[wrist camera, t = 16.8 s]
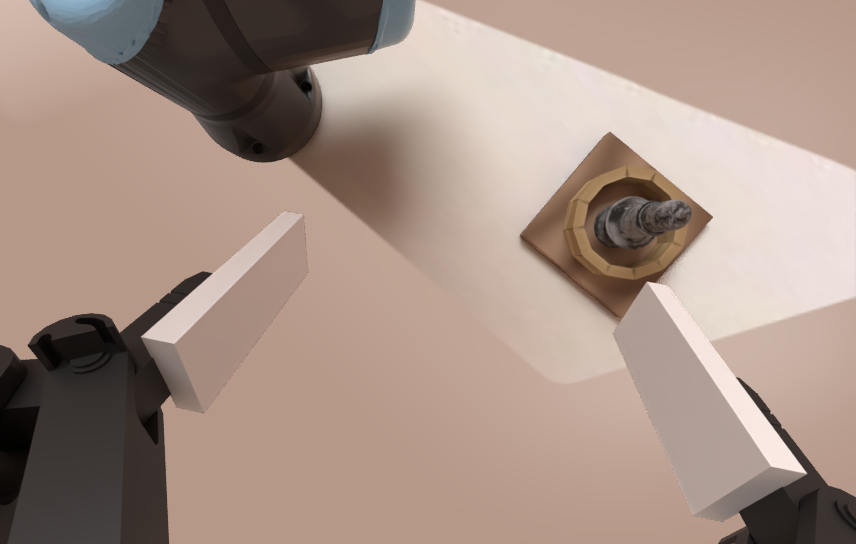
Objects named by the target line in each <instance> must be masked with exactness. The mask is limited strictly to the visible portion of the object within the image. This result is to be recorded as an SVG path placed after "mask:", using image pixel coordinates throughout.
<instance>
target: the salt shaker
mask: <svg viewBox="0 0 856 544" xmlns="http://www.w3.org/2000/svg"><path fill="white" fill-rule="evenodd" d="M691 216H692V211H691V208H690V207H689V205H688V204H687V203H686V202H684V201H682V200H669V201H665V202H661V201H650V202H649V201H648V200H646V199H644V198H641V197H637V196H630V197H626V198H622V199H621V200H619V201H617V202H616V203H615V204H614V205H610V206H607V207H605V208H604V209H602V210H601V211H600V212H599V213H598V215H597V217H596V219H595V222H594V231H595V235H596V237H597V238H598V240H599V241H600V242H601V243H602V244H604V245H605V246H607V247H611V248H624V249H628V250H636V249H640V248H643V247H645V246H647V245H648V244H650V243H651V242H652V241H653V240H654V238H655V237H657V236H661V235H663V234H665V233H666V232H667V231H673V230H678V229H681V228H683V227H685V226H686V225H687V224H688V223H689V221H690V220H691Z"/></svg>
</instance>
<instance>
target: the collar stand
mask: <svg viewBox="0 0 856 544" xmlns="http://www.w3.org/2000/svg"><path fill="white" fill-rule="evenodd" d="M630 196H637V197H641V198H644V199H646V200H648V201H649V202H650V201H661V202H665V201H669V200H682V201H684V202H686V203H687V204H688V205H689V207H690V208H691V211H692V216H691V220H690V221H689V223H688V224H687V225H686V226H685V227H683V228H681V229H678V230H673V231H667V232H666V233H665V234H663V235H661V236H657V237H655V238H654V240H653V241H652V242H651V243H650V244H648V245H647V246H645V247H643V248H640V249H636V250H628V249H624V248H611V247H607V246H605V245H604V244H602V243H601V242H600V241H599V240H598V238H597V237H596V235H595V231H594V222H595V219H596V217H597V215H598V213H599V212H600V211H601V210H602V209H604V208H605V207H607V206H610V205H614V204H615V203H616V202H617V201H619V200H621V199H622V198H626V197H630ZM712 218H713V217H712V216H711V215H710V214H709V213H708V212H706V211H705V210H704V209H703V208H702V207H700V206H699V205H698V204H697V203H696V202H694V201H693V200H692V199H691V198H690V197H688V196H687V195H686V194H685V193H684V192H682V191H681V190H680V189H679V188H677V187H676V186H675V185H674V184H673V183H671V182H670V181H669V180H668V179H667V178H665V177H664V176H663V175H662V174H661V173H659V172H658V171H657V170H656V169H655V168H653V167H652V166H651V165H650V164H649V163H647V162H646V161H645V160H644V159H642V158H641V157H640V156H639V155H638V154H636V153H635V152H634V151H633V150H632V149H630V148H629V147H628V146H627V145H626V144H624V143H623V142H622V141H621V140H620V139H618V138H617V137H616V136H615V135H614V134H612V133H611V132H609V133H607V134H606V135H605V136H604V137H603V138H602V139H601V140H600V141H599V143H598V144H597V145H596V146H595V147H594V148H593V150H592V151H591V152H590V153H589V154H588V155H587V157H586V158H585V159H584V160H583V161H582V163H581V164H580V165H579V166H578V167H577V168H576V170H575V171H574V172H573V173H572V174H571V175H570V177H569V178H568V179H567V180H566V181H565V183H564V184H563V185H562V186H561V187H560V188H559V190H558V191H557V192H556V193H555V194H554V195H553V197H552V198H551V199H550V200H549V201H548V203H547V204H546V205H545V206H544V207H543V208H542V210H541V211H540V212H539V213H538V214H537V215H536V217H535V218H534V219H533V220H532V221H531V223H530V224H529V225H528V226H527V227H526V228H525V230H524V231H523V232H522V233H521V234H520V236H521V237H522V238H524V239H525V240H526V241H527V242H528V243H530V244H531V245H532V246H533V247H534V248H536V249H537V250H538V251H539V252H540V253H542V254H543V255H544V256H545V257H546V258H548V259H549V260H550V261H551V262H552V263H554V264H555V265H556V266H557V267H558V268H560V269H561V270H562V271H563V272H564V273H566V274H567V275H568V276H569V277H570V278H571V279H573V280H574V281H575V282H576V283H577V284H579V285H580V286H581V287H582V288H583V289H585V290H586V291H587V292H588V293H589V294H591V295H592V296H593V297H594V298H595V299H597V300H598V301H599V302H600V303H601V304H603V305H604V306H605V307H606V308H607V309H609V310H610V311H611V312H612V313H613V314H615V315H616V316H617V317H620V318H623V317H624V315H625V314H626V312H627V311H628V309H629V308H630V306H631V305H632V303H633V302H634V300H635V299H636V297H637V296H638V294H639V293H640V291H641V290H642V288H643V287H644V285H645V284H646V282H651V283H655V282H656V281H657V280H658V279H659V278H660V277H661V276H662V274H663V273H664V272H665V271H666V270H667V269H668V268H669V266H670V265H671V264H672V263H673V262H674V261H675V260H676V259H677V257H678V256H679V255H680V254H681V253H682V252H683V251H684V249H685V248H686V247H687V246H688V245H689V244H690V243H691V242H692V240H693V239H694V238H695V237H696V236H697V235H698V234H699V232H700V231H701V230H702V229H703V228H704V227H705V226H706V225H707V223H708V222H709V221H710V220H711V219H712Z"/></svg>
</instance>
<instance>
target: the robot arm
mask: <svg viewBox="0 0 856 544" xmlns="http://www.w3.org/2000/svg"><path fill="white" fill-rule="evenodd" d="M29 1H30V2H31V3H32V5H33V7H34V8H35V9H36V10H37V11H38V13H39V14H40V15H41V16H42V17H43V18H44V19H45V20H46V21H47V22H48V23H49V24H50V25H51V26H53V27H54V28H55V29H56V30H58V31H59V32H61V33H62V34H64V35H65V36H67V37H68V38H70V39H71V40H73V41H75V42H76V43H77V44H79V45H81V46H82V47H83V48H85V49H86V51H87V52H89V53H90V54H91V55H92V56H93V57H94V58H96V59H97V60H99V61H101V62H104V63H106V64H108V65H110V66H112V67H113V68H115V69H117V70H119V71H120V72H122V73H124V74H126V75H127V76H129V77H131V78H132V79H134V80H136V81H138V82H140V83H141V84H143V85H145V86H146V87H148V88H150V89H152V90H153V91H155V92H157V93H159V94H160V95H162V96H164V97H166V98H167V99H169V100H171V101H173V102H174V103H176V104H178V105H179V106H181V107H183V108H185V109H187V110H188V111H190V112H191V113H192V114H193V115H194V116H195V118H196V119H197V120H198V122H199V123H200V124H201V126H202V127H203V128H204V129H205V131H206V132H207V133H208V134H209V136H210V137H211V138H212V139H213V140H214V141H215V142H216V143H217V144H219V145H220V146H221V147H223V148H225V149H226V150H227V151H230V152H231V153H233V154H235V155H237V156H239V157H241V158H243V159H246V160H250V161H254V162H274V161H278V160H282V159H284V158H287V157H289V156H291V155H293V154H294V153H296V152H297V151H298V150H300V149H301V148H302V147H303V146H304V145H305V144H306V143H307V142H308V141H309V139H310V138H311V136H312V135H313V133H314V131H315V129H316V127H317V125H318V122H319V119H320V114H321V107H322V98H321V91H320V86H319V83H318V80H317V78H316V76H315V74H314V72H313V70H312V69H311V67H310V66H309V65H313V64H318V63H323V62H328V61H333V60H338V59H343V58H348V57H353V56H358V55H363V54H372V53H373V52H375V51H376V50H378V49H381V48H385V47H388V46H391V45H395V44H398V43H400V42H402V41H403V40H404V39H405V38H406V37H407V36H408V34H409V32H410V30H411V28H412V25H413V20H414V13H415V0H29ZM307 273H308V265H307V252H306V239H305V226H304V215H303V214H298V213H293V212H288V211H283V212H282V213H281V214H280V215H279V216H278V217H276V218H275V219H274V220H273V221H272V222H271V223H270V224H268V225H267V226H266V227H265V228H264V229H263V230H262V231H261V232H259V233H258V234H257V235H256V236H255V237H254V238H253V239H252V240H251V241H249V242H248V243H247V244H246V245H245V246H244V247H243V248H241V249H240V250H239V251H238V252H237V253H236V254H234V255H233V256H232V257H231V258H230V259H229V260H228V261H227V262H225V263H224V264H223V265H222V266H221V267H220V268H219V269H217V270H216V271H215V272H214V273H208V272H200V273H198V274H196V275H194V276H192V277H190V278H187V279H185V280H184V281H183V282H181V283H180V284H179V285H178V286H177V287H175V288H174V289H173V290H172V291H171V293H168V294H167V295H166V296H164V297H163V298H162V299H161V300H160V302H159V303H156V304H155V305H153V306H152V307H151V308H150V309H148V310H147V311H146V312H145V313H143V314H142V315H141V316H140V317H139V318H137V319H136V320H135V321H134V322H133V323H131V324H130V325H129V326H128V327H126V328H125V329H124V330H123V331H122V332H120V333H119V331H118V330H117V328H116V326H115V324H114V322H113V321H112V319H110V318H109V317H107V316H105V315H102V314H93V313H90V314H82V315H75V316H72V317H69V318H65V319H62V320H59V321H57V322H55V323H53V324H51V325H49V326H47V327H45V328H44V329H43V330H41V331H40V332H39V333H37V334H36V335H35V336H34V337H33V338H32V340H31V341H30V343H29V344H28V347H29V348H30V349H31V350H32V352H33V353H34V354H35V355H36V357H37V358H38V359H30V360H20V359H19V358H18V357H17V356H16V354H15V353H14V352H13V351H12V350H11V349H10V348H7V347H5V346H2V345H0V544H169V533H168V511H167V490H166V468H165V467H166V466H165V446H164V445H165V444H164V423H163V412H162V410H161V407H160V406H161V405H162V404H163V403H164V402H165V400H166V399H167V398H168V397H169V396H170V395H171V397H172V399H173V401H174V403H175V405H176V407H177V408H181V409H186V410H191V411H195V412H200V413H205V412H206V410H207V409H208V408H209V406H210V405H211V404H212V402H213V401H214V400H215V398H216V397H217V395H218V394H219V393H220V391H221V390H222V389H223V387H224V386H225V385H226V383H227V382H228V381H229V379H230V378H231V376H232V375H233V374H234V372H235V371H236V370H237V368H238V367H239V366H240V364H241V363H242V362H243V360H244V359H245V358H246V356H247V355H248V353H249V352H250V351H251V349H252V348H253V347H254V345H255V344H256V343H257V341H258V340H259V339H260V337H261V336H262V334H263V333H264V332H265V330H266V329H267V328H268V326H269V325H270V324H271V322H272V321H273V319H274V318H275V317H276V315H277V314H278V313H279V311H280V310H281V309H282V307H283V306H284V304H285V303H286V302H287V300H288V299H289V298H290V296H291V295H292V293H293V292H294V291H295V290H296V288H297V287H298V286H299V284H300V283H301V281H302V280H303V279H304V277H305V276H306V275H307ZM613 335H614V338H615V340H616V342H617V344H618V347H619V349H620V351H621V354H622V356H623V358H624V360H625V363H626V365H627V367H628V369H629V372H630V374H631V376H632V378H633V381H634V383H635V385H636V388H637V390H638V392H639V394H640V397H641V399H642V401H643V404H644V406H645V408H646V410H647V413H648V415H649V417H650V419H651V421H652V424H653V426H654V429H655V431H656V433H657V435H658V438H659V440H660V442H661V444H662V447H663V449H664V451H665V454H666V456H667V458H668V460H669V462H670V465H671V467H672V469H673V472H674V474H675V476H676V479H677V481H678V483H679V485H680V488H681V490H682V492H683V494H684V496H685V499H686V501H687V503H688V506H689V508H690V510H691V512H692V515H693V516H696V517H701V518H706V519H710V520H715V521H720V522H723V521H725V520H727V519H728V518H730V517H732V516H734V515H736V514H737V513H740V515H741V517H742V519H743V520H744V522H745V524H746V526H745V527H744V528H742V529H740V530H738V531H736V532H734V533H732V534H730V535H729V536H726V537H724V538H722V539H721V540H720V542H719V543H718V544H856V497H854V496H852V495H850V494H848V493H847V492H845V491H843V490H841V489H837V488H834V487H831V486H828V485H827V484H826V482H825V481H824V480H823V478H822V477H821V476H820V474H819V473H818V472H817V471H816V470H815V468H814V467H813V465H812V464H811V463H810V461H809V460H808V459H807V458H806V456H805V455H804V454H803V453H802V451H801V450H800V448H799V447H798V446H797V445H796V443H795V442H794V441H793V439H792V438H791V437H790V435H789V434H788V433H787V432H786V430H785V429H782V428H781V424H780V423H779V421H778V420H777V419H776V417H775V416H774V415H773V414H770V410H769V408H768V407H767V406H766V404H765V403H764V402H763V400H762V399H761V398H760V397H759V395H758V394H757V393H756V392H755V391H754V390H752V389H751V388H750V387H749V386H748V385H747V384H745V382H743V381H742V380H741V379H740V378H737V377H735V376H734V375H733V373H732V372H731V371H730V369H729V368H728V367H727V365H726V364H725V363H724V361H723V360H722V359H721V357H720V356H719V355H718V353H717V352H716V350H715V349H714V348H713V346H712V345H711V344H710V342H709V341H708V340H707V338H706V337H705V336H704V334H703V333H702V332H701V330H700V329H699V328H698V326H697V325H696V323H695V322H694V321H693V319H692V318H691V317H690V315H689V314H688V313H687V311H686V310H685V309H684V307H683V306H682V305H681V303H680V302H679V301H678V299H677V298H676V297H675V295H674V294H673V293H672V291H671V290H670V289H669V287H668V286H667V285H661V284H656V283H651V282H646V284H645V285H644V287H643V288H642V290H641V291H640V293H639V294H638V296H637V297H636V299H635V300H634V302H633V303H632V305H631V306H630V308H629V309H628V311H627V312H626V314H625V315H624V317H623V318H622V320H621V321H620V323H619V324H618V326H617V327H616V329H615V330H614V332H613Z"/></svg>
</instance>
